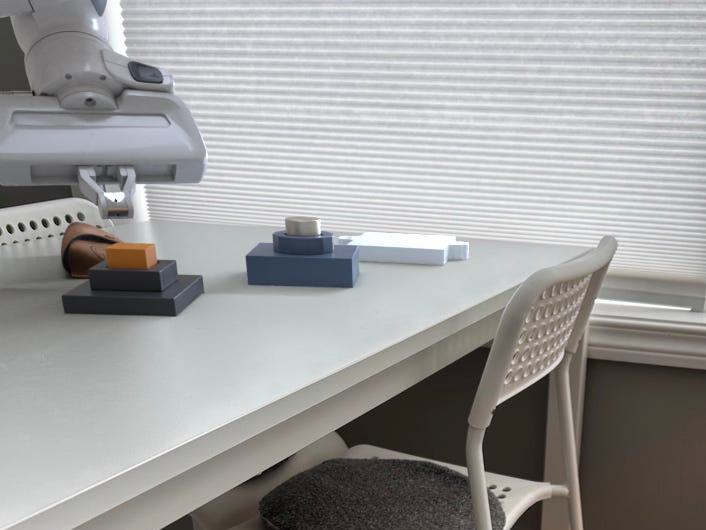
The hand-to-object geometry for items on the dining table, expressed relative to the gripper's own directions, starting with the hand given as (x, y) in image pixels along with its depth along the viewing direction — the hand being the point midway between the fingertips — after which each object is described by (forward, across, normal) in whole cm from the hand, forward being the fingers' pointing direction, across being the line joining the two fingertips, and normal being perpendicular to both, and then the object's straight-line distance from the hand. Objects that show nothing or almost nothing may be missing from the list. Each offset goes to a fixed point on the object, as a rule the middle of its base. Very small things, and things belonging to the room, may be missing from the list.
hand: (118, 214), depth 91 cm
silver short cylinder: (-5, +23, +11) cm, 25 cm away
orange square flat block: (+6, 0, 0) cm, 6 cm away
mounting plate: (-10, +41, +23) cm, 49 cm away
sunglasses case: (-13, +2, +26) cm, 29 cm away
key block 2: (-2, +22, +14) cm, 27 cm away
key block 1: (+9, 0, +3) cm, 10 cm away
